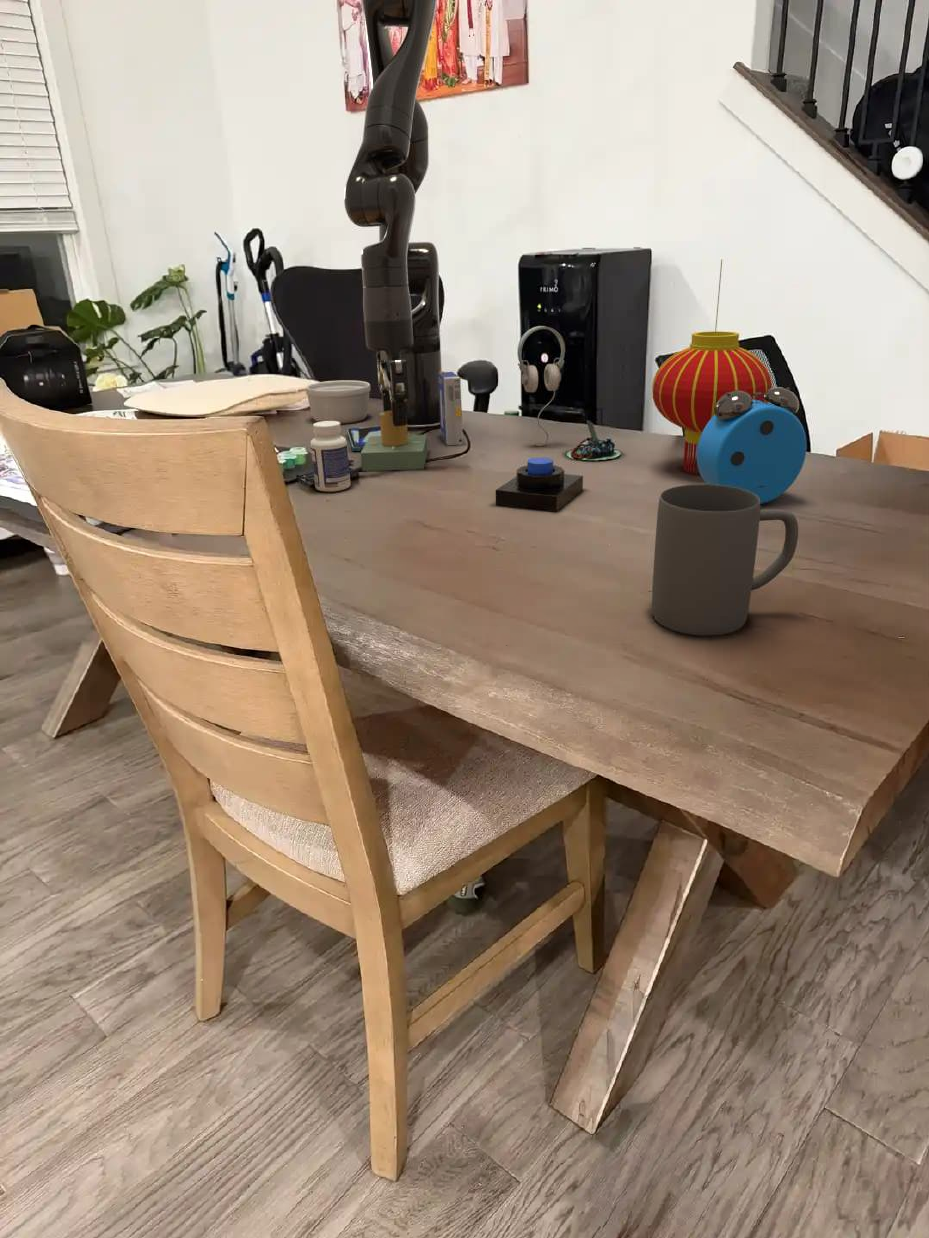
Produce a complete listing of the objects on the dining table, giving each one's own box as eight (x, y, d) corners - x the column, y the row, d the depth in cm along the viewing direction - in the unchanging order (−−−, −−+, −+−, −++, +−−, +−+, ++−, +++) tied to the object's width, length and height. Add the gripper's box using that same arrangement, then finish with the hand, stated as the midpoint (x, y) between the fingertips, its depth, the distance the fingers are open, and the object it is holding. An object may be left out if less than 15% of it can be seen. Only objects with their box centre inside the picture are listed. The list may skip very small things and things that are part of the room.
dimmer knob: (383, 440, 143) (380, 408, 141) (409, 439, 143) (407, 408, 141) (380, 446, 139) (378, 414, 137) (407, 445, 139) (405, 413, 137)
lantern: (784, 468, 129) (811, 256, 117) (715, 491, 120) (737, 263, 107) (693, 450, 142) (709, 256, 129) (624, 470, 132) (633, 262, 119)
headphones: (559, 441, 151) (560, 324, 143) (567, 446, 148) (569, 326, 139) (515, 445, 149) (514, 327, 141) (522, 450, 146) (521, 329, 138)
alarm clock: (776, 490, 119) (789, 381, 113) (801, 502, 114) (817, 389, 108) (691, 499, 117) (700, 389, 110) (713, 512, 111) (724, 396, 105)
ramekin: (377, 412, 182) (375, 379, 179) (365, 425, 170) (363, 390, 167) (317, 413, 183) (314, 380, 180) (301, 426, 171) (297, 391, 168)
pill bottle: (357, 484, 130) (351, 420, 125) (338, 494, 125) (332, 428, 121) (328, 481, 132) (321, 418, 128) (308, 490, 127) (300, 426, 123)
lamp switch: (525, 484, 126) (525, 458, 125) (582, 490, 123) (583, 463, 121) (495, 505, 117) (495, 477, 116) (556, 512, 114) (556, 483, 112)
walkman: (440, 436, 158) (437, 370, 153) (455, 435, 158) (452, 369, 153) (447, 446, 151) (444, 377, 146) (463, 444, 151) (460, 376, 146)
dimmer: (370, 453, 148) (369, 435, 146) (427, 451, 147) (426, 433, 146) (362, 471, 137) (360, 451, 135) (423, 469, 137) (422, 450, 135)
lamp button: (533, 468, 121) (532, 456, 120) (556, 470, 119) (556, 458, 118) (523, 475, 118) (523, 462, 117) (547, 477, 116) (547, 464, 116)
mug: (669, 641, 77) (679, 515, 72) (638, 602, 86) (644, 487, 81) (810, 628, 79) (829, 504, 74) (765, 591, 87) (780, 477, 82)
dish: (612, 447, 135) (588, 414, 138) (578, 476, 138) (556, 443, 141) (632, 460, 142) (609, 428, 145) (599, 488, 145) (577, 456, 148)
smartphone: (352, 447, 148) (346, 428, 162) (352, 453, 149) (346, 433, 162) (393, 444, 150) (384, 425, 163) (394, 449, 150) (385, 430, 163)
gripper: (420, 318, 127) (426, 427, 134) (402, 312, 140) (409, 412, 146) (371, 321, 125) (379, 431, 132) (357, 315, 138) (366, 415, 145)
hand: (395, 421), depth 139 cm, fingers open, 8 cm apart
